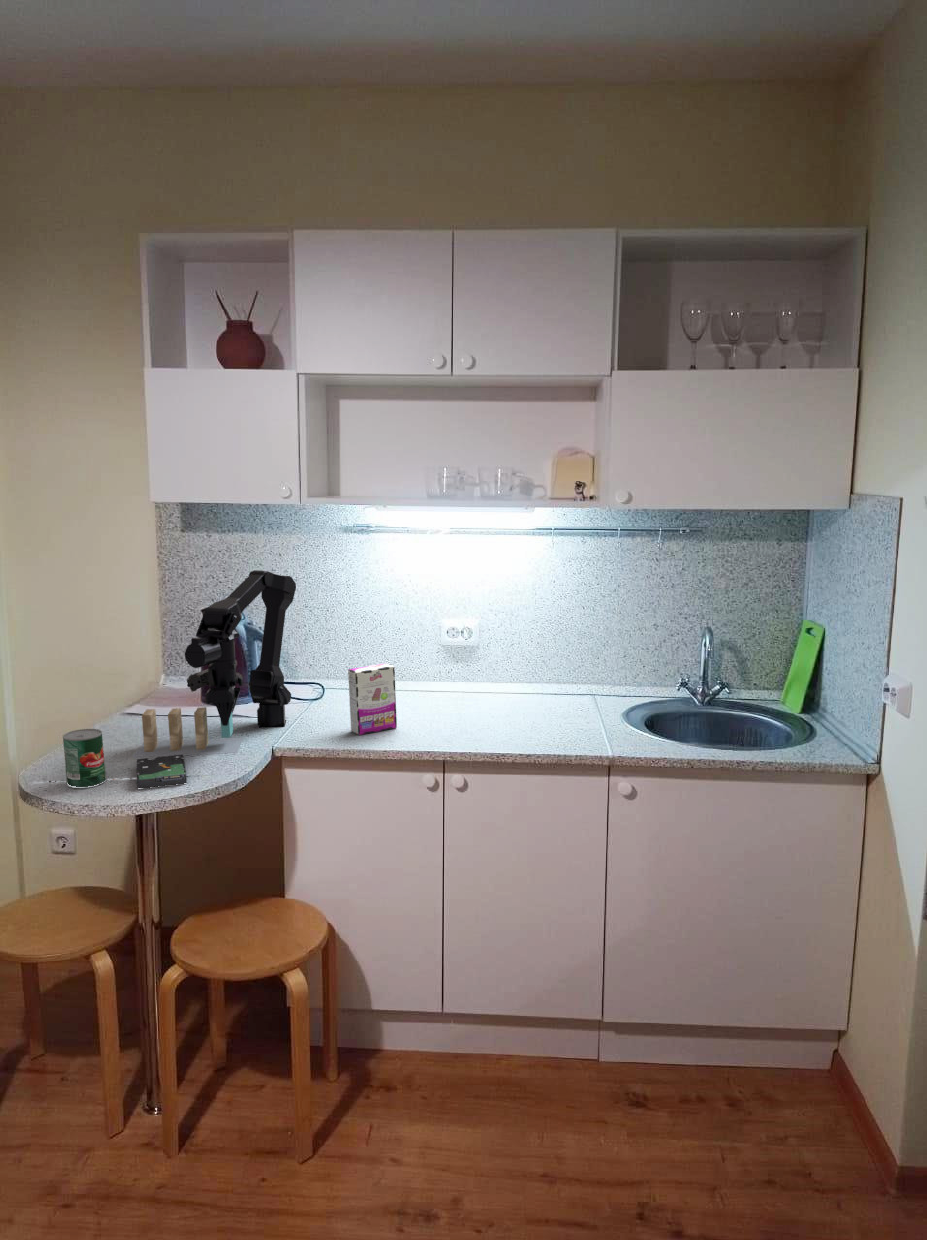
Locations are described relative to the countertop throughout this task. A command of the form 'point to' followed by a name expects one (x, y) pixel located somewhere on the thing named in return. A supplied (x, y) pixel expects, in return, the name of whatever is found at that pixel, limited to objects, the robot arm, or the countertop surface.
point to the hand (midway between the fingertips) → (226, 722)
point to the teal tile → (227, 728)
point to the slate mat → (193, 748)
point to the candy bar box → (372, 698)
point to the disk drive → (161, 771)
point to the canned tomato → (84, 757)
